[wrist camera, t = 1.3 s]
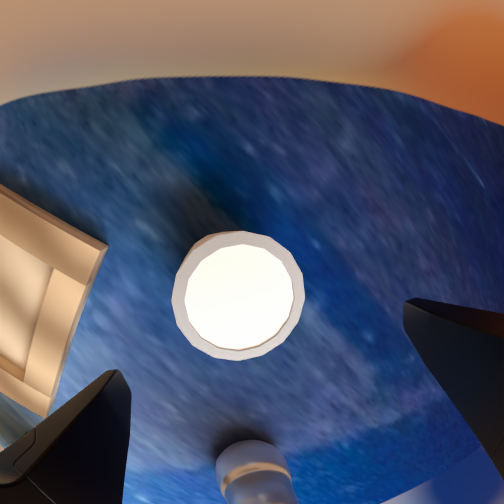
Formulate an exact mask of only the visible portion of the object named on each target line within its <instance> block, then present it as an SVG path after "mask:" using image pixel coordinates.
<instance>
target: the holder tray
mask: <svg viewBox="0 0 504 504" xmlns="http://www.w3.org/2000/svg"><path fill="white" fill-rule="evenodd" d="M108 247H109V246H108V245H106V244H104V243H102V242H100V241H99V240H97V239H95V238H93V237H91V236H89V235H88V234H86V233H84V232H82V231H80V230H78V229H77V228H75V227H73V226H71V225H69V224H68V223H66V222H64V221H62V220H61V219H59V218H57V217H55V216H54V215H52V214H50V213H48V212H47V211H45V210H43V209H42V208H40V207H38V206H36V205H35V204H33V203H31V202H30V201H28V200H26V199H25V198H23V197H21V196H20V195H18V194H16V193H15V192H13V191H11V190H10V189H8V188H7V187H5V186H3V185H2V184H0V392H2V393H3V394H5V395H6V396H8V397H9V398H11V399H12V400H14V401H16V402H17V403H19V404H21V405H22V406H24V407H26V408H27V409H29V410H31V411H33V412H34V413H36V414H38V415H40V416H42V417H43V418H45V419H46V417H47V415H48V413H49V411H50V409H51V407H52V406H53V404H54V401H55V397H56V393H57V389H58V386H59V382H60V379H61V375H62V372H63V368H64V365H65V362H66V358H67V355H68V352H69V349H70V346H71V343H72V340H73V337H74V334H75V331H76V328H77V325H78V322H79V319H80V316H81V314H82V311H83V308H84V306H85V303H86V300H87V298H88V295H89V292H90V290H91V287H92V285H93V282H94V280H95V277H96V275H97V273H98V270H99V268H100V265H101V263H102V261H103V258H104V256H105V254H106V251H107V249H108Z"/></svg>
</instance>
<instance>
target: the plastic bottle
mask: <svg viewBox="0 0 504 504" xmlns="http://www.w3.org/2000/svg"><path fill="white" fill-rule="evenodd" d="M215 478H216V481H217V484H218V486H219V489H220V491H221V493H222V494H223V496H224V498H225V500H226V502H227V504H299V503H298V500H297V497H296V494H295V491H294V489H293V486H292V483H291V475H290V471H289V468H288V464H287V461H286V460H285V458H284V457H283V455H282V454H281V453H280V452H279V450H278V449H277V448H276V447H274V446H273V445H271V444H268V443H266V442H263V441H259V440H243V441H239V442H236V443H234V444H232V445H230V446H228V447H227V448H226V449H224V451H223V452H222V453H221V454H220V455H219V457H218V458H217V460H216V465H215Z"/></svg>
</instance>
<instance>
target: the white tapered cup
mask: <svg viewBox="0 0 504 504" xmlns="http://www.w3.org/2000/svg"><path fill="white" fill-rule="evenodd" d="M304 300H305V294H304V285H303V276H302V272H301V271H300V269H299V267H298V265H297V264H296V262H295V260H294V258H293V257H292V255H291V253H290V252H289V251H288V250H286V249H285V248H284V247H282V246H281V245H280V244H278V243H277V242H276V241H274V240H273V239H272V238H270V237H268V236H263V235H259V234H255V233H250V232H246V231H231V232H220V233H215V234H209V235H207V236H205V237H204V238H202V239H201V240H199V241H198V242H196V243H195V244H194V245H193V247H192V248H191V250H190V251H189V252H188V254H187V255H186V257H185V259H184V261H183V263H182V264H181V266H180V268H179V270H178V272H177V274H176V279H175V284H174V289H173V295H172V300H171V301H172V305H173V310H174V314H175V318H176V322H177V326H178V327H179V328H180V330H181V331H182V332H183V334H184V335H185V336H186V338H187V339H188V340H189V342H190V343H191V344H192V345H193V346H194V347H196V348H198V349H200V350H201V351H203V352H205V353H207V354H209V355H210V356H212V357H214V358H221V359H228V360H236V361H240V360H245V359H249V358H253V357H257V356H261V355H264V354H265V353H267V352H268V351H270V350H272V349H273V348H275V347H276V346H278V345H279V344H281V343H282V342H284V340H285V339H286V338H287V336H288V335H289V334H290V332H291V331H292V330H293V328H294V327H295V325H296V324H297V323H298V321H299V317H300V314H301V310H302V307H303V303H304Z"/></svg>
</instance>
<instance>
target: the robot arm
mask: <svg viewBox="0 0 504 504" xmlns="http://www.w3.org/2000/svg"><path fill="white" fill-rule="evenodd" d="M403 326H404V330H405V332H406V333H407V335H408V337H409V338H410V340H411V342H412V343H413V345H414V347H415V348H416V350H417V352H418V354H419V355H420V357H421V359H422V360H423V362H424V364H425V365H426V366H427V368H428V369H429V371H430V372H431V373H432V375H433V376H434V377H435V379H436V380H437V381H438V383H439V384H440V386H441V387H442V388H443V390H444V391H445V392H446V394H447V395H448V397H449V398H450V399H451V401H452V402H453V404H454V405H455V406H456V408H457V409H458V411H459V412H460V414H461V415H462V416H463V418H464V419H465V421H466V422H467V424H468V425H469V427H470V428H471V430H472V431H473V433H474V434H475V436H476V437H477V439H478V440H479V442H480V443H481V445H482V446H483V448H484V449H485V451H486V452H487V454H488V455H489V457H490V458H491V461H492V462H493V464H494V465H495V467H496V468H497V470H498V472H499V473H500V475H501V476H502V478H503V479H504V314H503V313H497V312H492V311H486V310H480V309H475V308H469V307H464V306H458V305H453V304H448V303H442V302H437V301H431V300H426V299H421V298H413V299H410V300H407V301H405V303H404V306H403ZM130 420H131V391H130V388H129V386H128V384H127V383H126V381H125V379H124V377H123V375H122V373H121V372H120V371H119V370H118V369H116V370H108V371H106V372H105V373H103V374H102V375H101V376H99V377H98V378H97V379H96V380H94V381H93V382H92V383H91V384H89V385H88V386H87V387H85V388H84V389H83V390H82V391H80V392H79V393H78V394H77V395H75V396H74V397H73V398H71V399H70V400H69V401H68V402H66V403H65V404H64V405H63V406H61V407H60V408H59V409H57V410H56V411H55V412H54V413H52V414H51V415H50V416H49V417H47V418H46V419H45V420H43V421H42V422H41V423H40V424H38V425H37V426H36V428H33V429H32V430H31V431H29V432H28V433H25V434H24V436H23V437H21V438H20V439H19V440H17V441H16V442H15V443H13V444H12V445H10V446H9V447H7V448H6V449H4V450H3V451H1V452H0V504H122V497H123V487H124V478H125V469H126V461H127V454H128V446H129V438H130Z"/></svg>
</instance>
